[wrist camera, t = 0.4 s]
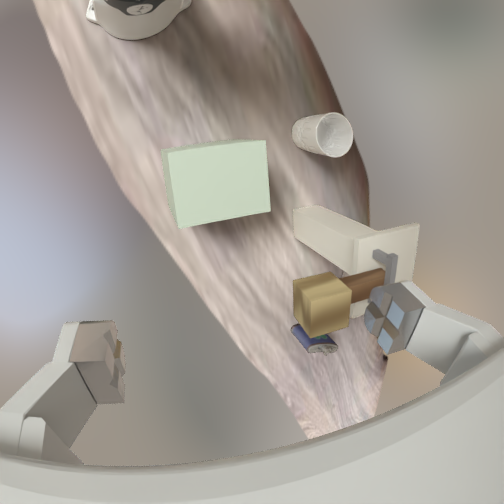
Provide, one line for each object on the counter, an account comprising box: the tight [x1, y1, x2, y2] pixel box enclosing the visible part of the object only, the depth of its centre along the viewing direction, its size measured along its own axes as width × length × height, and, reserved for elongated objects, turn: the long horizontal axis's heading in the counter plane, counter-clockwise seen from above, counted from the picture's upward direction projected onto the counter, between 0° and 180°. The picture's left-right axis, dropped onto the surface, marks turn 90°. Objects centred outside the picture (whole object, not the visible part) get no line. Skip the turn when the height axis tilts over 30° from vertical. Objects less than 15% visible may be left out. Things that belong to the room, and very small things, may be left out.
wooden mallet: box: [293, 268, 385, 338], centre depth 36 cm, size 5×13×5 cm, turn 95°
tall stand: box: [293, 205, 419, 319], centre depth 50 cm, size 12×12×30 cm
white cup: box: [292, 113, 353, 157], centre depth 52 cm, size 8×8×10 cm
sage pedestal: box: [161, 139, 271, 229], centre depth 45 cm, size 10×13×15 cm
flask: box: [291, 324, 338, 355], centre depth 69 cm, size 9×3×11 cm, turn 72°
